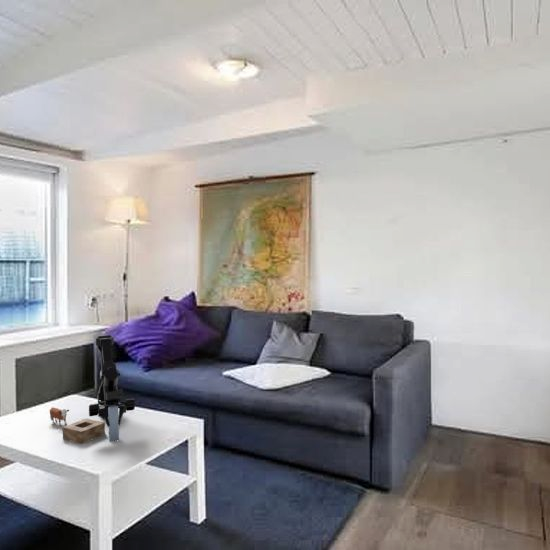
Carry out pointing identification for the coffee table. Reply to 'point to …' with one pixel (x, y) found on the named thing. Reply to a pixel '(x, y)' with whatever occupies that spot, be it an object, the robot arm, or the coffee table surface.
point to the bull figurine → (58, 415)
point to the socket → (83, 430)
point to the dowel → (113, 423)
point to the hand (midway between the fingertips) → (114, 425)
